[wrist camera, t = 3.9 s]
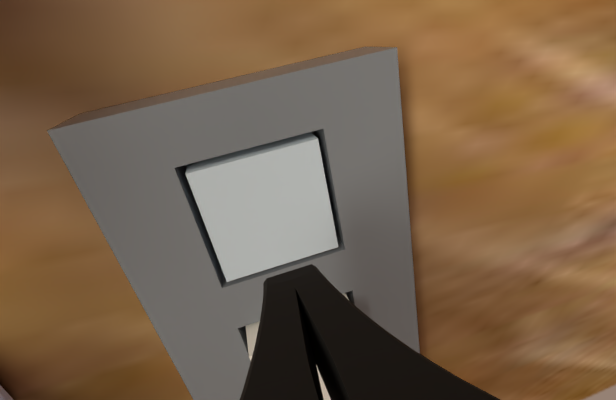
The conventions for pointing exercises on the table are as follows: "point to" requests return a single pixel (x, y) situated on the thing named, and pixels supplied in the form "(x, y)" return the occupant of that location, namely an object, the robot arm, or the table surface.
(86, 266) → the table surface
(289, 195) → the pale blue key
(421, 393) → the robot arm
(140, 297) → the key console
